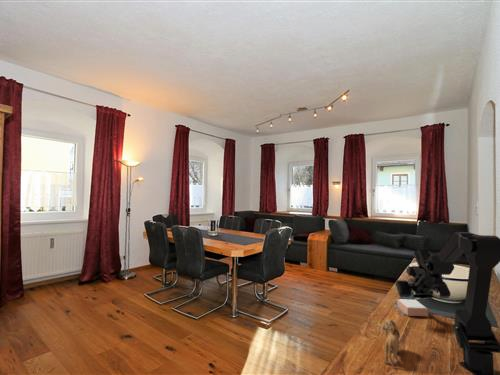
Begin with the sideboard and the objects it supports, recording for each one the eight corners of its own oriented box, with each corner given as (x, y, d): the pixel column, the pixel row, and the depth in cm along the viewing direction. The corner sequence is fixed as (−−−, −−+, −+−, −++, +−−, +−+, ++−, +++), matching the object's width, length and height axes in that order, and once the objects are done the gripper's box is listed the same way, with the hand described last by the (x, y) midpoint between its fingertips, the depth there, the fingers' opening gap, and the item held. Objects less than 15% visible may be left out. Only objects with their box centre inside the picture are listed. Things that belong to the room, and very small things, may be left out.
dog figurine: (380, 342, 95) (380, 316, 96) (398, 345, 93) (397, 318, 94) (384, 367, 82) (384, 336, 82) (405, 371, 80) (404, 339, 80)
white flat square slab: (428, 315, 116) (428, 314, 116) (403, 314, 117) (403, 313, 117) (416, 306, 126) (416, 305, 126) (393, 305, 127) (393, 304, 127)
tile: (427, 308, 115) (415, 299, 125) (407, 307, 116) (397, 298, 126) (427, 316, 115) (416, 306, 125) (407, 315, 116) (397, 306, 126)
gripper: (445, 261, 111) (431, 281, 122) (396, 260, 113) (386, 280, 124) (458, 288, 103) (442, 306, 114) (406, 286, 105) (394, 304, 116)
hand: (415, 298), depth 117 cm, fingers closed
